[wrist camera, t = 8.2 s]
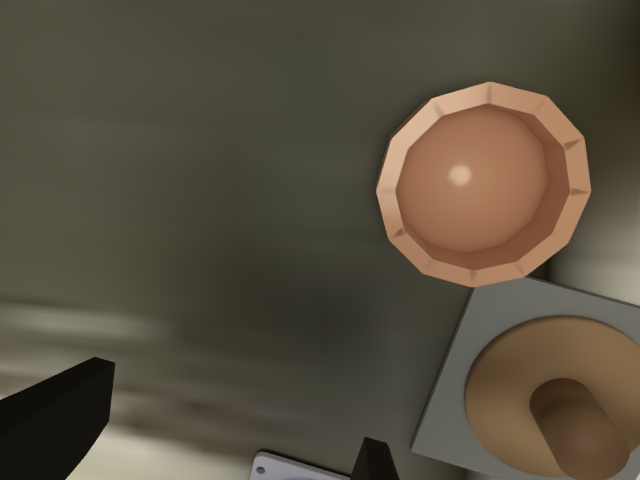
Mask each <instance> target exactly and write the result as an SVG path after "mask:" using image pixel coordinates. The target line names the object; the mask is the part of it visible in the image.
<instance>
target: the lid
mask: <svg viewBox="0 0 640 480" xmlns="http://www.w3.org/2000/svg"><path fill="white" fill-rule="evenodd" d="M464 400H465V407H466V411H467V415H468V418H469V422H470V424H471V427H472V430H473V432H474V434H475V435H476V437H477V439H478V440H479V442H480V443H481V444H482V445H483V447H484V448H485V449H486V450H487V451H488V452H489V453H490V454H491V455H493V456H494V457H495V458H497V459H498V460H499V461H501V462H503V463H504V464H506V465H508V466H510V467H512V468H514V469H517V470H519V471H522V472H525V473H528V474H532V475H537V476H543V477H571V478H573V479H576V480H606V479H609V478H611V477H613V476H615V475H616V474H618V473H619V472H620V471H621V470H622V469H623V468H624V467H625V466H626V464H627V462H628V460H629V456H630V453H631V452H633V451H634V450H635V449H636V448H637V447H638V446H639V445H640V348H639V346H637V345H636V344H635V343H634V342H633V341H632V340H631V339H630V338H628V337H627V336H626V335H625V334H623V333H622V332H621V331H619V330H617V329H616V328H614V327H612V326H610V325H608V324H606V323H603V322H601V321H598V320H595V319H591V318H588V317H582V316H575V315H552V316H544V317H539V318H534V319H531V320H528V321H524V322H522V323H519V324H517V325H515V326H512V327H511V328H509V329H507V330H505V331H504V332H502V333H500V334H499V335H498V336H496V337H495V338H494V339H492V340H491V341H490V342H489V343H488V344H487V345H486V346H485V347H484V348H483V349H482V350H481V352H480V353H479V354H478V355H477V357H476V358H475V360H474V362H473V363H472V365H471V367H470V370H469V372H468V375H467V378H466V382H465V390H464Z"/></svg>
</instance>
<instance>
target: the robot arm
mask: <svg viewBox="0 0 640 480" xmlns="http://www.w3.org/2000/svg"><path fill="white" fill-rule="evenodd" d="M114 370H115V363H114V362H111V361H107V360H104V359H100V358H97V357H93V358H91V359H89V360H87V361H84V362H82V363H80V364H78V365H76V366H74V367H72V368H69V369H67V370H65V371H63V372H61V373H59V374H57V375H55V376H53V377H50V378H48V379H46V380H44V381H42V382H40V383H37V384H35V385H33V386H31V387H29V388H27V389H24V390H22V391H20V392H18V393H15V394H13V395H11V396H8V397H6V398H4V399H1V400H0V480H65V479H66V478H67V477H68V476H69V475H70V473H71V472H72V471H73V470H74V469H75V468H76V466H77V465H78V464H79V463H80V462H81V460H82V459H83V458H84V457H85V456H86V454H87V453H88V451H89V450H90V448H91V447H92V446H93V444H94V443H95V441H96V440H97V438H98V437H99V435H100V434H101V432H102V431H103V429H104V428H105V426H106V425H107V423H108V421H109V416H110V407H111V397H112V388H113V379H114ZM259 467H263V468H264V469H261V468H259ZM249 480H400V479H399V476H398V473H397V471H396V468H395V465H394V462H393V458H392V455H391V452H390V449H389V446H388V445H387V443H384V442H381V441H378V440H374V439H371V438H368V437H365V438H364V441H363V443H362V446H361V449H360V452H359V455H358V458H357V460H356V463H355V466H354V469H353V472H352V475H351V477H350V478H349V477H345V476H342V475H339V474H336V473H332V472H329V471H326V470H322V469H319V468H316V467H313V466H309V465H306V464H303V463H299V462H296V461H293V460H290V459H286V458H283V457H280V456H276V455H273V454H270V453H267V452H259V453H258V454H257V455H256V456H255V459H254V463H253V467H252V470H251V474H250V478H249Z"/></svg>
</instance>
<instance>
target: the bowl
mask: <svg viewBox="0 0 640 480" xmlns="http://www.w3.org/2000/svg"><path fill="white" fill-rule="evenodd" d="M390 136H391V137H389V140H388V144H387V147H386V150H385V153H384V155H383V159H382V163H381V167H380V171H379V175H378V178H377V181H376V193H377V197H378V201H379V205H380V209H381V213H382V216H383V220H384V224H385V228H386V232H387V236H388V239H389V241H390V242H391V243H392V244H393V245H394V246H395V247H396V248H397V249H398V250H399V251H400V252H401V253H402V254H403V255H404V256H405V257H406V258H407V259H408V260H409V261H410V262H411V263H412V264H413V265H414V266H415V267H416V268H417V269H419V270H420V271H421V272H422V273H423V274H425V275H429V276H432V277H436V278H439V279H443V280H447V281H450V282H454V283H457V284H461V285H465V286H468V287H478V286H483V285H488V284H493V283H498V282H502V281H507V280H512V279H517V278H522V277H524V276H526V275H528V274H529V273H530V272H532V271H533V270H534V269H535V268H537V267H538V266H539V265H541V264H542V263H543V262H545V261H546V260H547V259H548V258H550V257H551V256H552V255H554V254H555V253H556V252H557V251H559V250H560V249H561V248H563V247H564V246H565V245H566V244H568V243H567V242H569V240H570V238H571V236H572V234H573V231H574V229H575V227H576V225H577V222H578V220H579V218H580V216H581V214H582V211H583V209H584V207H585V205H586V203H587V200H588V198H589V196H590V194H591V186H590V178H589V170H588V163H587V155H586V147H585V139H584V137H583V136H582V134H581V133H580V132H579V131H578V130H577V129H576V128H575V127H574V126H573V124H572V123H571V122H570V121H569V120H568V119H567V118H566V117H565V116H564V114H563V113H562V112H561V111H560V110H559V109H558V108H557V107H556V105H555V104H554V103H553V102H552V101H551V100H550V99H549V98H548V97H547V96H545V95H541V94H537V93H533V92H529V91H525V90H521V89H517V88H513V87H510V86H506V85H502V84H498V83H494V82H486V83H482V84H478V85H475V86H471V87H468V88H464V89H461V90H457V91H454V92H450V93H447V94H444V95H440V96H437V97H433V98H430V99H427V100H425V101H424V102H423V103H422V104H421V105H420V106H419V107H418V108H417V109H416V110H415V111H414V112H412V113H411V114H410V115H409V116H408V117H407V118H406V119H405V120H404V121H403V122H402V123H401V125H400V126H399V127H398V128H397V129H396V130H395V131H394V132H393V133H392V134H391V135H390Z"/></svg>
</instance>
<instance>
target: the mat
mask: <svg viewBox="0 0 640 480" xmlns="http://www.w3.org/2000/svg"><path fill="white" fill-rule="evenodd" d="M552 315H575V316H582V317H588V318H591V319H595V320H598V321H601V322H603V323H606V324H608V325H610V326H612V327H614V328H616V329H617V330H619V331H621V332H622V333H623V334H625V335H626V336H627V337H628V338H630V339H631V340H632V341H633V342H634V343H635V344H636V345H637V346H639V348H640V307H639V306H636V305H632V304H629V303H625V302H621V301H618V300H614V299H610V298H607V297H603V296H600V295H596V294H592V293H589V292H585V291H581V290H578V289H574V288H571V287H567V286H563V285H560V284H556V283H553V282H549V281H545V280H542V279H538V278H534V277H531V276H527V275H526V276H524V277H522V278H517V279H512V280H507V281H502V282H498V283H493V284H488V285H483V286H478V287H472V289H471V292H470V294H469V297H468V299H467V302H466V304H465V307H464V309H463V312H462V315H461V317H460V320H459V322H458V325H457V327H456V330H455V332H454V335H453V338H452V340H451V343H450V345H449V348H448V350H447V353H446V356H445V358H444V361H443V363H442V366H441V368H440V371H439V373H438V376H437V379H436V381H435V384H434V386H433V389H432V391H431V394H430V396H429V399H428V402H427V404H426V407H425V409H424V412H423V414H422V417H421V419H420V422H419V425H418V427H417V430H416V432H415V435H414V437H413V440H412V442H411V445H410V451H411V452H413V453H417V454H420V455H423V456H427V457H430V458H433V459H437V460H440V461H443V462H447V463H450V464H453V465H457V466H460V467H463V468H467V469H470V470H473V471H477V472H480V473H483V474H487V475H490V476H493V477H497V478H500V479H503V480H576V479H573V478H571V477H543V476H537V475H532V474H528V473H525V472H522V471H519V470H517V469H514V468H512V467H510V466H508V465H506V464H504V463H503V462H501V461H499V460H498V459H497V458H495V457H494V456H493V455H491V454H490V453H489V452H488V451H487V450H486V449H485V448H484V447H483V445H482V444H481V443H480V442H479V440H478V439H477V437H476V435H475V434H474V432H473V430H472V427H471V424H470V422H469V418H468V415H467V411H466V407H465V400H464V390H465V382H466V378H467V375H468V372H469V370H470V367H471V365H472V363H473V362H474V360H475V358H476V357H477V355H478V354H479V353H480V352H481V350H482V349H483V348H484V347H485V346H486V345H487V344H488V343H489V342H490V341H491V340H492V339H494V338H495V337H496V336H498V335H499V334H500V333H502V332H504V331H505V330H507V329H509V328H511V327H512V326H515V325H517V324H519V323H522V322H524V321H528V320H531V319H534V318H539V317H544V316H552ZM639 473H640V445H639V446H638V447H637V448H636V449H635V450H634V451H633V452H631V453H630V456H629V460H628V462H627V464H626V466H625V467H624V468H623V469H622V470H621V471H620V472H619V473H618V474H616V475H615V476H613V477H611V478H609V479H606V480H635V479H636V478H637V476H638V475H639Z"/></svg>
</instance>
